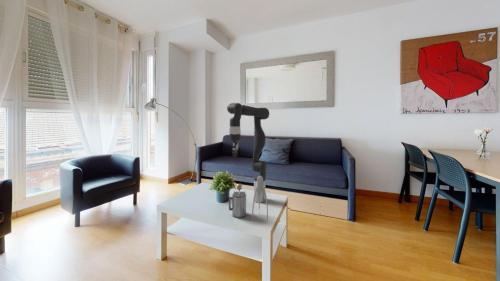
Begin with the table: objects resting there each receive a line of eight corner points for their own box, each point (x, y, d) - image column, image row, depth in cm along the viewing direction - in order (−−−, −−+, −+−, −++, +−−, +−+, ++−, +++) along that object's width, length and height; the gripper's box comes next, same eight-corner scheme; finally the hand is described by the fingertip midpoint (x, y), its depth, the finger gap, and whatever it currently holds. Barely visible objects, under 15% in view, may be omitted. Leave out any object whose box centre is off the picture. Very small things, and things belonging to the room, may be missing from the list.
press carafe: (245, 218, 138) (245, 196, 136) (228, 217, 138) (227, 196, 136) (246, 211, 147) (246, 191, 145) (230, 211, 148) (230, 191, 146)
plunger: (235, 207, 146) (234, 182, 143) (244, 207, 145) (244, 183, 143) (233, 211, 139) (233, 186, 137) (243, 211, 139) (243, 186, 136)
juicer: (266, 214, 144) (266, 172, 140) (267, 220, 135) (268, 176, 131) (251, 214, 143) (251, 172, 140) (252, 220, 134) (252, 176, 131)
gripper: (231, 132, 145) (231, 154, 147) (227, 133, 131) (228, 158, 133) (241, 132, 145) (241, 154, 147) (239, 134, 130) (239, 158, 132)
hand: (235, 156), depth 140 cm, fingers open, 8 cm apart
